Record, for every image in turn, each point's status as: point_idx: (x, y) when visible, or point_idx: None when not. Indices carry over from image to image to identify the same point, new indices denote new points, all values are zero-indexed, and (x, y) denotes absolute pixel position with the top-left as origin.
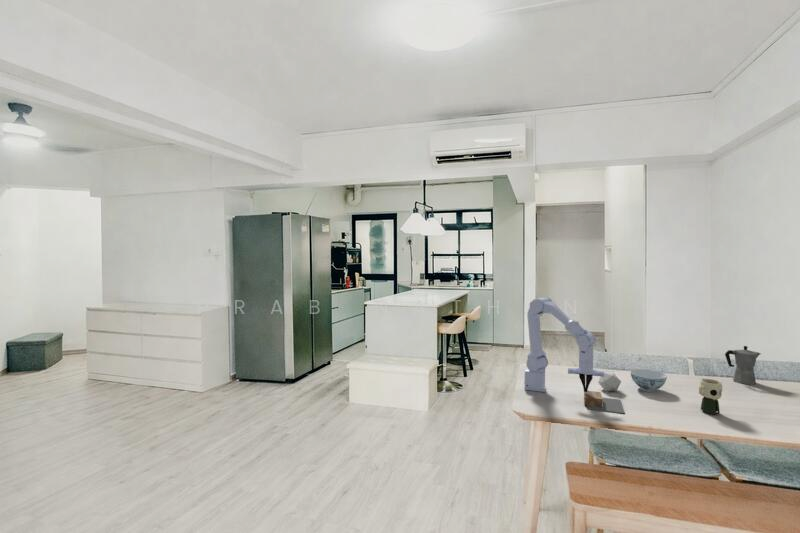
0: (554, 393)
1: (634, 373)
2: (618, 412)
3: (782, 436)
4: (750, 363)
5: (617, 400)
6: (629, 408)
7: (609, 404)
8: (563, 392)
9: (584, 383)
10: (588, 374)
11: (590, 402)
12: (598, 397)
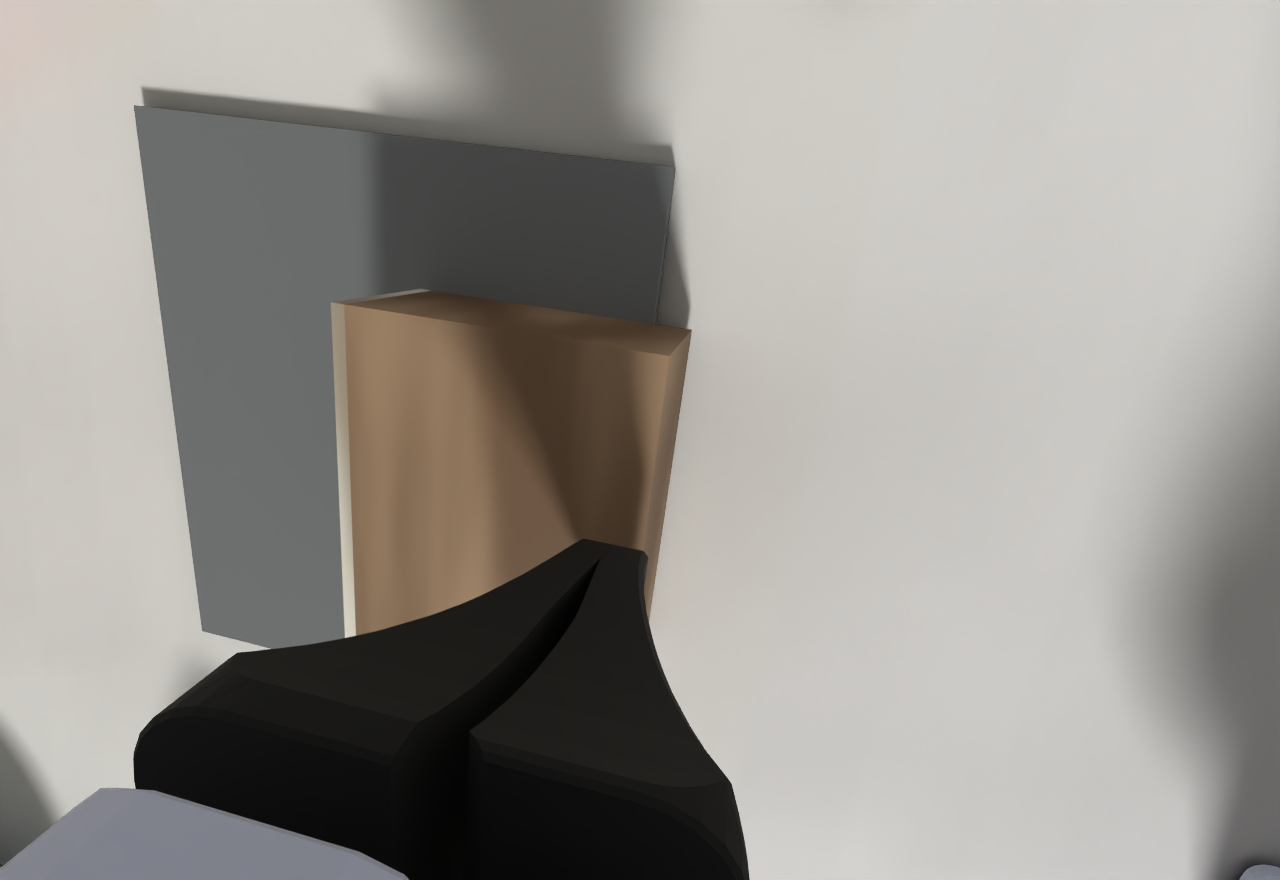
0: (1077, 816)
1: None
2: (215, 115)
3: None
4: None
5: (233, 596)
6: (111, 363)
7: (325, 433)
8: (906, 853)
9: (585, 643)
10: (71, 810)
11: (582, 322)
12: (401, 384)
